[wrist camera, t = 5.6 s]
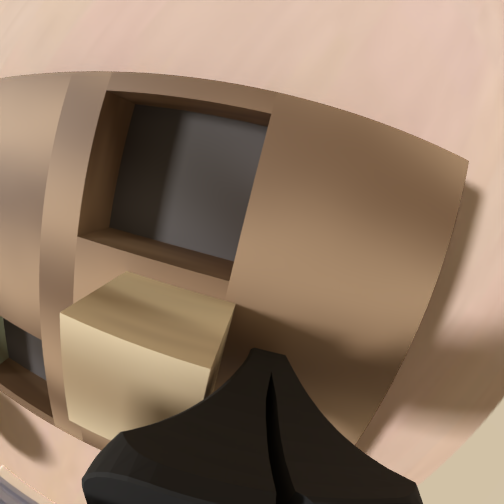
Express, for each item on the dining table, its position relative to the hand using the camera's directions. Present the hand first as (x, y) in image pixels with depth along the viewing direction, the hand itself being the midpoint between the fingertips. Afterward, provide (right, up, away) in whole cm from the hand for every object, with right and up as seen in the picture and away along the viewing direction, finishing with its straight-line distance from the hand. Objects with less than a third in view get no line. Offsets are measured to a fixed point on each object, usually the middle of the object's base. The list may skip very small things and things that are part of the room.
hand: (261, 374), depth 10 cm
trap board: (-7, +3, +4) cm, 9 cm away
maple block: (-3, +1, +1) cm, 4 cm away
